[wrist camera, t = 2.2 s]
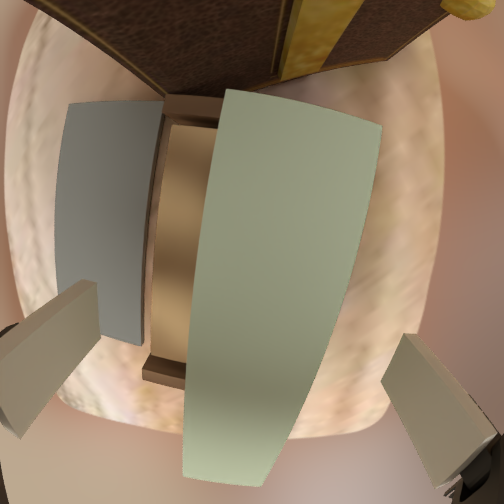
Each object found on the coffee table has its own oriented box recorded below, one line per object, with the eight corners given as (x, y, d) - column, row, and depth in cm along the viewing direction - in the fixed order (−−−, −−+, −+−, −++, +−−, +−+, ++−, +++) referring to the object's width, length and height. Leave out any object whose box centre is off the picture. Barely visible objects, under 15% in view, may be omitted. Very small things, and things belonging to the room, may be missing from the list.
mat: (73, 105, 19) (69, 103, 18) (167, 103, 19) (164, 101, 18) (65, 317, 25) (61, 320, 24) (143, 342, 25) (141, 346, 24)
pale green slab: (246, 149, 20) (226, 88, 6) (297, 159, 20) (382, 125, 6) (215, 332, 24) (182, 476, 10) (258, 339, 25) (260, 486, 10)
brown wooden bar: (190, 136, 20) (170, 124, 15) (234, 142, 20) (227, 130, 15) (168, 326, 24) (149, 360, 19) (204, 334, 24) (193, 370, 19)
